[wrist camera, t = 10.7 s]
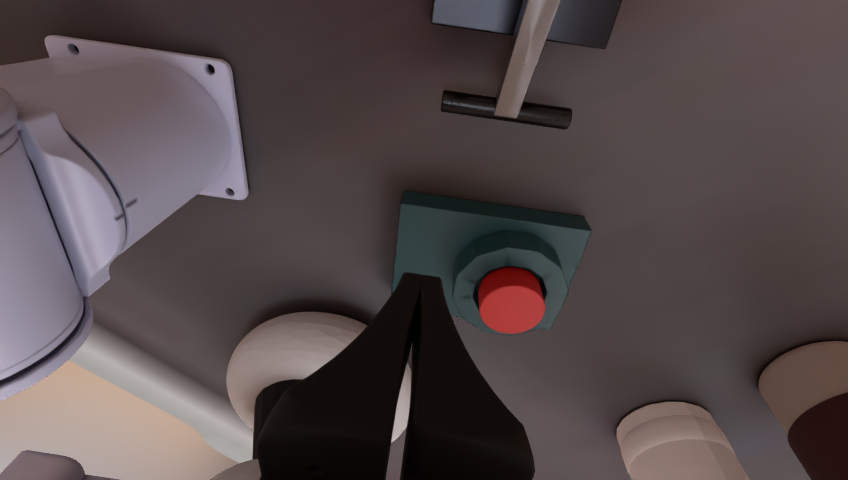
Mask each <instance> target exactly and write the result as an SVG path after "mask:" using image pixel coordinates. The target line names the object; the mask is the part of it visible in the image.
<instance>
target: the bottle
mask: <svg viewBox="0 0 848 480" xmlns="http://www.w3.org/2000/svg"><path fill="white" fill-rule="evenodd" d="M617 440H618V443H619V446H620V448H621V454H622V458H623V461H624V464H625V466H626V469H627V471H628V473H629V474H630V477H631V479H632V480H749V478H748V476H747V475H746V473H745V471H744V470H743V468H742V466H741V465H740V463H739V461H738V460H737V458H736V456H735V453H734V451H733V449H732V447H731V445H730V443H729V442H728V440H727V438H726V436H725V435H724V433H723V432H722V430H721V429H720V428H719V427H718V426H717V424H716V423H715V421H714V419H713V418H712V416H711V414H710V413H709V412H707V411H706V410H704V409H703V408H701V407H700V406H697V405H693V404H689V403H685V402H660V403H655V404H649V405H647V406H644V407H642V408H639V409H636V410H634V411H633V412H631V413H630V414H629V415H627V416H626V417H625V418H623V420H622V421H621V423H620V424H619V426H618V427H617Z"/></svg>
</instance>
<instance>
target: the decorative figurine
mask: <svg viewBox="0 0 848 480" xmlns="http://www.w3.org/2000/svg"><path fill="white" fill-rule="evenodd" d="M366 327H367V325H365V324H363V323H361V322H359V321H357V320H354V319H351V318H348V317H344V316H341V315H337V314H332V313H324V312H297V313H290V314H286V315H282V316H278V317H276V318H273V319H271V320H268V321H266V322H264V323H262V324H260V325H259V326H257V327H256V328H254V329H253V330H252V331H251V332H249V333H248V334H247V335H246V336H245V337H244V338H243V339H242V340H241V342H240V343H239V344H238V346H237V347H236V349H235V351H234V352H233V354H232V356H231V359H230V362H229V364H228V371H227V389H228V394H229V398H230V400H231V403H232V405H233V407H234V409H235V411H236V412H237V414H238V415H239V417H240V418H241V419H242V420H243V422H244V423H245V424H246V425H247V426H248V427H250V428H251V429H252V430H253V431H254V433H253V460H250V461H246V462H243V463H240V464H237V465H235V466H233V467H231V468H229V469H227V470H225V471H223V472H221V473H219V474H218V475H216V476H215V477H214V478H212V479H211V480H259V479H260V477H261V472H260V467H259V462H258V457H257V452H256V441H257V439H258V437H259V435H260V433H261V430H262V428H263V426H264V424H265V422H266V420H267V418H268V416H269V414H270V413H271V411H272V409H273V408H274V406H275V405H276V403H277V402H278V400H279V399H280V397H281V396H282V395H283V393H284V392H285V391H286V390H287V389H288V388H290V387H292V386H293V385H295V384H296V383H298V382H300V381H301V380H303V379H304V378H306V377H308V376H309V375H311V374H312V373H314V372H315V371H317V370H318V369H319V368H321V367H322V366H323V365H325V364H326V363H327V362H329V361H330V360H331V359H333V358H334V357H335V356H336V355H338V354H339V353H340V352H341V351H342V350H343V349H344V348H346V347H347V346H348V345H349V344H350V343H351V342H352V341H353V340H354V339H355V338H356V337H357V336H358V335H359V334H360V333H361V332H362V331H363V330H364V329H365V328H366ZM410 392H411V369H410V367H409V364H408V363H407V365H406V369H405V373H404V377H403V381H402V385H401V389H400V393H399V398H398V403H397V408H396V414H395V421H394V427H393V433H392V440H391V443H392V442H393V441H394V440H396V439H397V438H398V437H399V436H400V435H401V433H402V432H403V431H404V430H405V428H406V427H407V422H408V415H409V406H410Z"/></svg>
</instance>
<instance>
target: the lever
mask: <svg viewBox="0 0 848 480" xmlns="http://www.w3.org/2000/svg"><path fill="white" fill-rule="evenodd" d="M559 3H560V0H523V3H522V7H521V10H520V13H519V17H518V20H517V24H516V27H515V31H514V34H513V38H512V41H511V45H510V48H509V52H508V55H507V58H506V62H505V65H504V69H503V72H502V76H501V79H500V83H499V86H498V90H497V93H496V97H489V96H482V95H475V94H468V93H462V92H455V91H448V90H444V91H443V97H442V104H441V111H442V112H448V113H455V114H461V115H468V116H475V117H482V118H489V119H496V120H503V121H510V122H517V123H523V124H530V125H537V126H544V127H551V128H558V129H567V128H568V126H569V125H570V122H571V119H572V110H571V109H570V108H565V107H558V106H551V105H544V104H537V103H530V102H523V101H524V98H525V95H526V92H527V90H528V87H529V84H530V82H531V79H532V76H533V73H534V71H535V68H536V65H537V63H538V60H539V57H540V55H541V52H542V49H543V46H544V44H545V41H546V38H547V36H548V33H549V30H550V27H551V25H552V22H553V19H554V17H555V14H556V11H557V9H558V6H559Z"/></svg>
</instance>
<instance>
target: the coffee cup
mask: <svg viewBox="0 0 848 480" xmlns="http://www.w3.org/2000/svg"><path fill="white" fill-rule="evenodd" d="M758 387H759V391H760V393H761V396H762V397H763V399H764V400H765V402H766V404H767V405H768V407H769V408H770V410H771V411H772V413H773V414H774V416H775V417H776V419H777V420H778V422H779V424H780V425H781V427H782V428H783V430H784V431H785V433H786V434H787V436H788V442H789V445H790V447H791V448H792V450H793V452H794V453H795V455H796V456H797V458H798V459H799V461H800V463H801V464H802V466H803V467H804V469H805V470H806V472H807V474H808V475H809V477H810V478H811V480H848V342H844V341H825V342H818V343H812V344H808V345H804V346H801V347H798V348H795V349H793V350H791V351H789V352H787V353H784V354H783V355H781V356H780V357H778V358H776V359H775V360H774V361H773V362H771V363H770V364H769V365H768V366H767V367H766V368H765V369H764V371H763V372H762V374H761V376H760V379H759V386H758Z"/></svg>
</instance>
